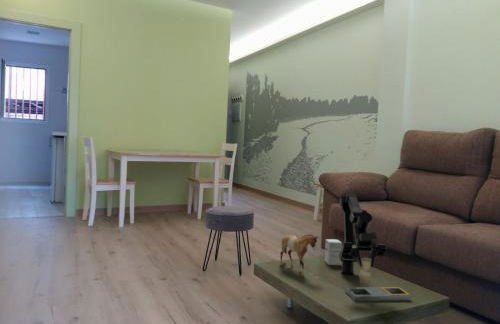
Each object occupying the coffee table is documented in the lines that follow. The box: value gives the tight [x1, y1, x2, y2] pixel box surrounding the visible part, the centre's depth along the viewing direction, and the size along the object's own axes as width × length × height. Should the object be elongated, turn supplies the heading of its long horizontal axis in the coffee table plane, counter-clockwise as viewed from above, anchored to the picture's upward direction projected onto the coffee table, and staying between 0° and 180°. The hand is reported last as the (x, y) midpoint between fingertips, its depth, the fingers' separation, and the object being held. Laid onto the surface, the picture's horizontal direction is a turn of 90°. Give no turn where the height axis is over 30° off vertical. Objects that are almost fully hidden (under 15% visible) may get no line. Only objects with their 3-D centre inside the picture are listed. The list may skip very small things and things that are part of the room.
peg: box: [359, 257, 372, 285], centre depth 172 cm, size 4×4×10 cm
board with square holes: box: [344, 286, 412, 302], centre depth 174 cm, size 25×11×2 cm, turn 98°
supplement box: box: [324, 238, 343, 266], centre depth 222 cm, size 7×7×13 cm
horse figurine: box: [279, 234, 319, 277], centre depth 207 cm, size 31×8×21 cm, turn 25°
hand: (366, 266), depth 171 cm, fingers closed on peg, 4 cm apart
